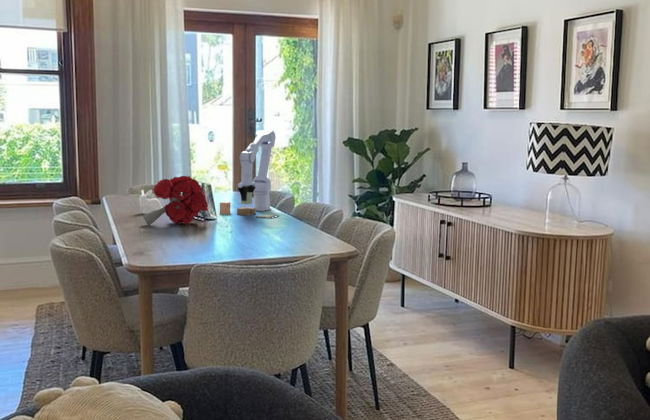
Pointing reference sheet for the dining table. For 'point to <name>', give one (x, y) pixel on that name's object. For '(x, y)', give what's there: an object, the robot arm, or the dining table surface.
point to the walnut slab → (246, 211)
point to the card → (266, 216)
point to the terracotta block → (224, 207)
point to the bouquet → (178, 200)
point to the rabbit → (149, 203)
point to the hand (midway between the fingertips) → (246, 200)
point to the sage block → (248, 199)
